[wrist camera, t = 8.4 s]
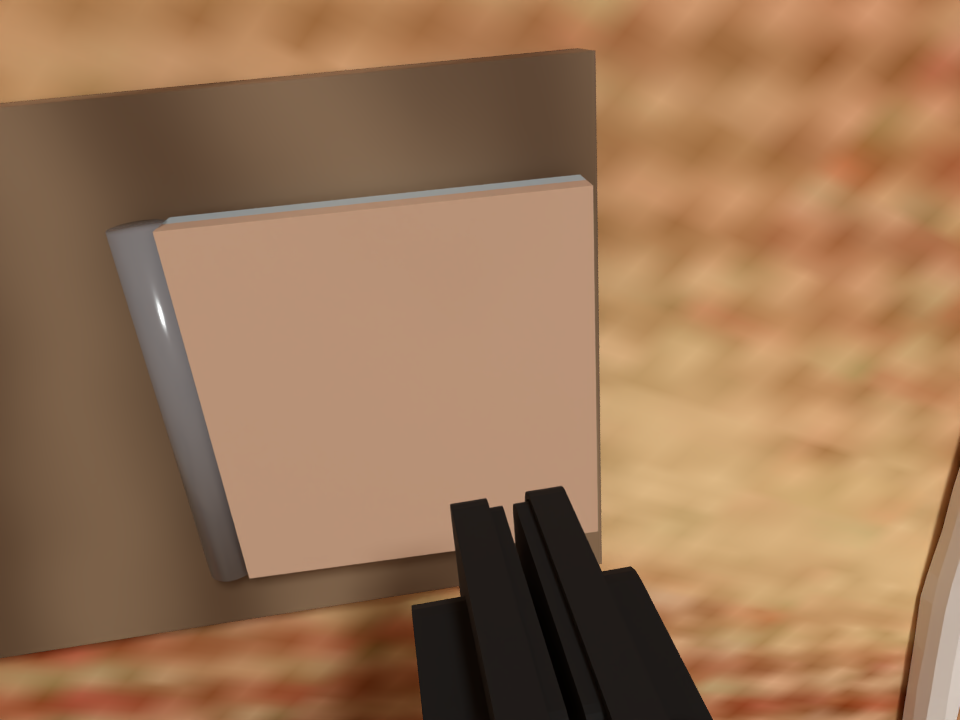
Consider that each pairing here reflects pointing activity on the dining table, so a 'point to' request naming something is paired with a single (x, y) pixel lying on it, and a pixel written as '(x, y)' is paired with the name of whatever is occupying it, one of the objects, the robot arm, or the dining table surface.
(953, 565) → the white nail
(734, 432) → the dining table surface
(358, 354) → the tile
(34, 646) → the board
